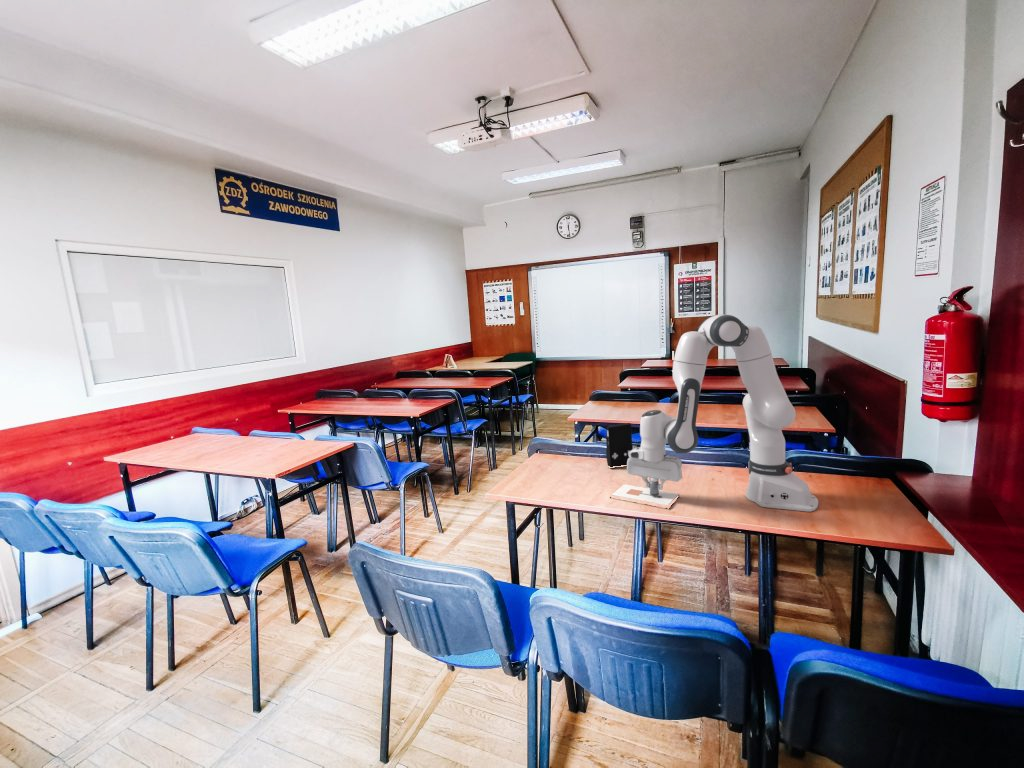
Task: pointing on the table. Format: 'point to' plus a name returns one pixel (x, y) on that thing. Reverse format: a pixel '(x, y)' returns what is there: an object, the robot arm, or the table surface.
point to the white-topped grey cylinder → (654, 486)
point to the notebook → (645, 495)
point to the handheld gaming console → (618, 444)
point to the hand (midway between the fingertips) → (654, 488)
